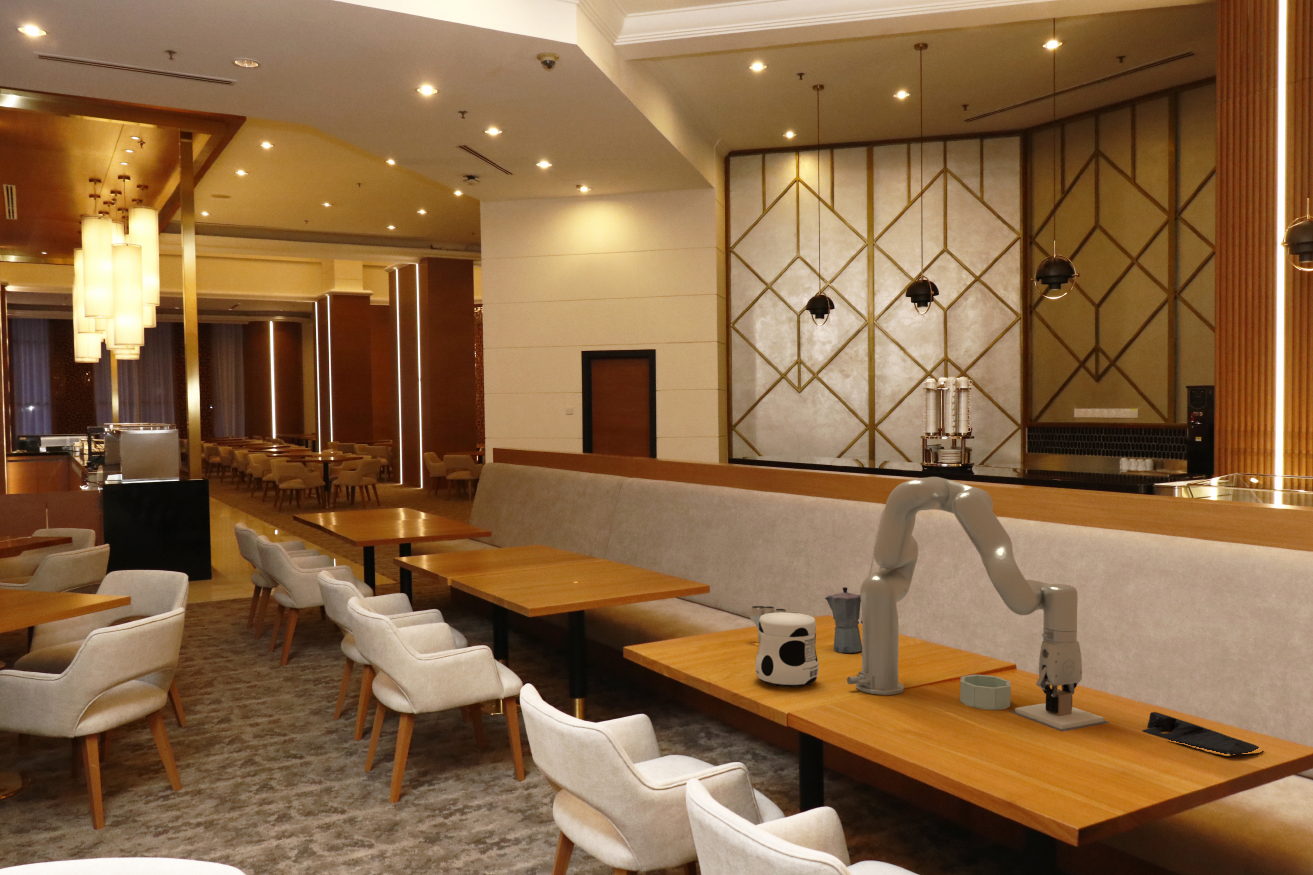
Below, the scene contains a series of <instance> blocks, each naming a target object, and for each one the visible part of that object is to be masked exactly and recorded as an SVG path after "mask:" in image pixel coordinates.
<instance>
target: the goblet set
mask: <svg viewBox="0 0 1313 875" xmlns="http://www.w3.org/2000/svg"><path fill="white" fill-rule="evenodd" d="M750 608H751V609H750V611H749V618H750V620H751V621H752V623H754V624H755V626H756V628H757V642H759V620H760V617H761V615H764V614H768V613H779V612H786V611H787V610H786V609H785V608H775V606H770V605H766V606H765V605H752V606H751V607H750ZM786 613H797V612H794V611H787V612H786Z"/></svg>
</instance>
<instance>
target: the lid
mask: <svg viewBox="0 0 1313 875" xmlns="http://www.w3.org/2000/svg"><path fill="white" fill-rule="evenodd" d="M1056 697H1058V713H1052V712H1050V711H1047V710H1046V702H1045V703H1038V704H1032V705H1024V706H1019V707H1015V708H1014V710H1015V712H1016V713H1019V714H1022V715H1024V716H1027V717H1030V718H1032V719H1035V720H1038V721H1040V722H1043V723H1046V724H1048V725H1051V726H1054V727H1056V728H1059V729H1066V728H1072V727H1077V726H1083V725H1088V724H1094V723H1099V722H1104V720H1105V717H1103V716H1100V715H1097V714H1094V713H1092V712H1089V711H1086V710H1083V709H1080V708H1077V707H1074V706H1073V694H1072V693H1069V692H1066V691H1062V689H1059V688H1057V694H1056Z"/></svg>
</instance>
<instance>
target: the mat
mask: <svg viewBox="0 0 1313 875" xmlns="http://www.w3.org/2000/svg"><path fill="white" fill-rule="evenodd" d="M1008 712H1009V713H1012V714H1015V715H1018V716H1019V717H1022V718H1024V719H1025V718H1026V719H1028V720H1030V721H1034V722H1036V723H1039V724H1041V725H1044V726H1046V727H1048V728H1051V729H1055V730H1057V731H1060V732H1066V731H1071V730H1077V729H1083V728H1088V727H1092V726H1099V725H1104V724H1105V725H1106V724H1109V723H1111V722H1110V721H1108V720H1105V719H1104V722H1099V723H1094V724H1088V725H1083V726H1077V727H1072V728H1066V729H1059V728H1056V727H1054V726H1051V725H1048V724H1046V723H1043V722H1040V721H1038V720H1035V719H1032V718H1030V717H1027V716H1024V715H1022V714H1019V713H1016V712H1015V709H1014V710H1009V711H1008Z"/></svg>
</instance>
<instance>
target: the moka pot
mask: <svg viewBox="0 0 1313 875" xmlns="http://www.w3.org/2000/svg"><path fill="white" fill-rule="evenodd" d="M842 591H843V592H840V593H834V594H829V595H827V596H825V597H824V599H825V600H826V601H827V603H828V605H829V608H830V609H831V611H832V618H833V621H834V625H835V627H834V638H833V640H834V641H833V650H834V652H836V651H837V653H843V654H855V653H860V652H862V638H861V637H862V636H861V632H860V627H859V624H860V623H861V624H862V620H861V621H859V620H860V615H861V599H860V594H856V593H851V592H848V587H847V586H845V587H842Z"/></svg>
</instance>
